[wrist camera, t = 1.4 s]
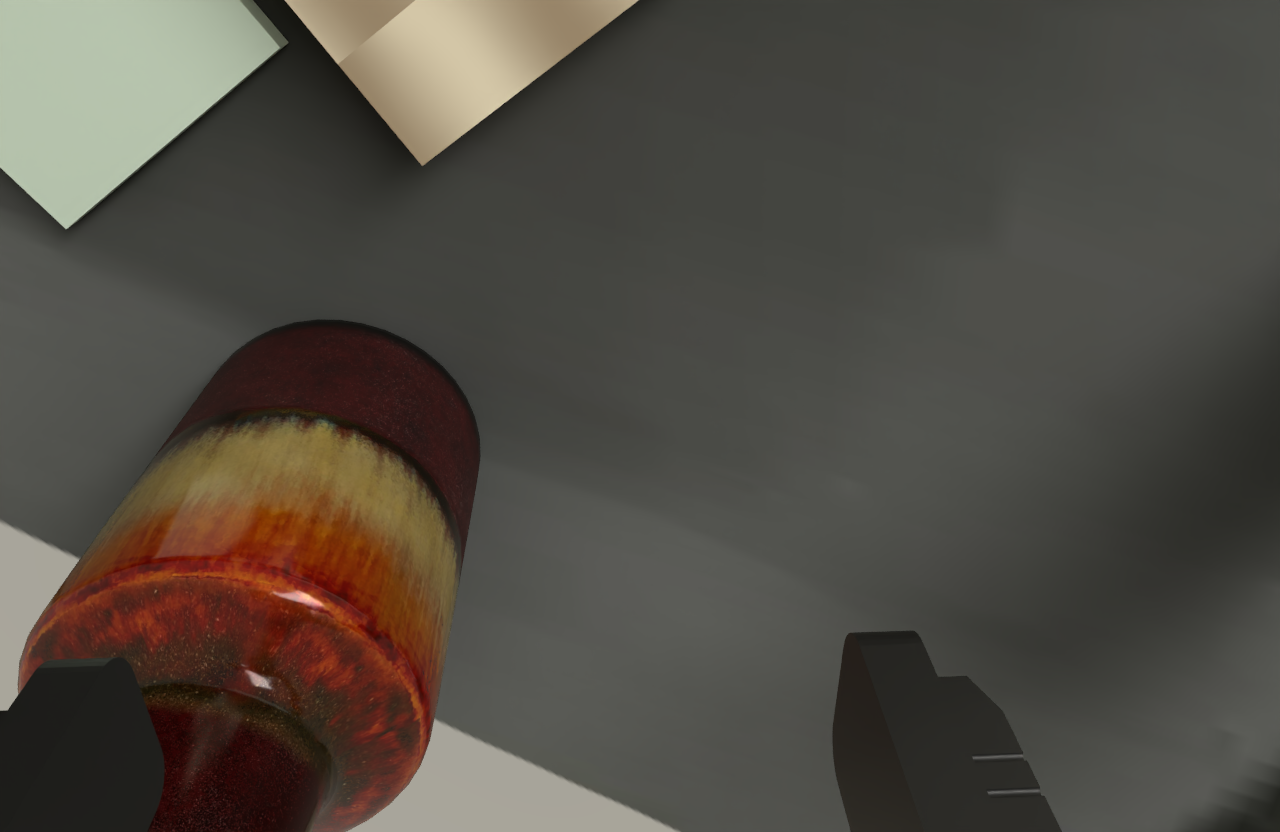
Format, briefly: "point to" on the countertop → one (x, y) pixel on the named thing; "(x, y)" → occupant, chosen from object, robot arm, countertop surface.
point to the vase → (286, 581)
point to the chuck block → (448, 55)
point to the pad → (113, 86)
